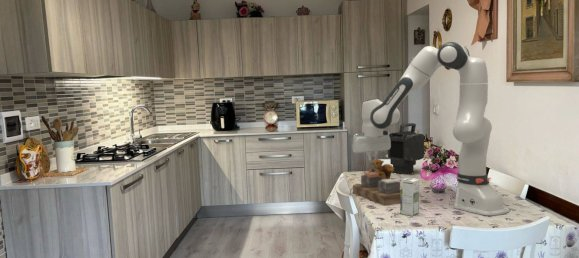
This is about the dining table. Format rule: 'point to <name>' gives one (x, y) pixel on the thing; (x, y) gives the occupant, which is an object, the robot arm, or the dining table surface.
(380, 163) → the stuffed squirrel
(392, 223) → the dining table surface
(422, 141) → the black device with handle
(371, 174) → the reddish orange cube
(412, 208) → the syrup box
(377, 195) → the button board
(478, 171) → the robot arm
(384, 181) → the white cube
